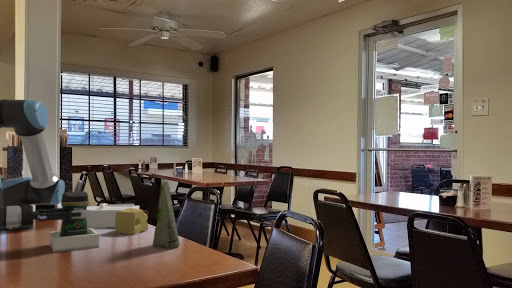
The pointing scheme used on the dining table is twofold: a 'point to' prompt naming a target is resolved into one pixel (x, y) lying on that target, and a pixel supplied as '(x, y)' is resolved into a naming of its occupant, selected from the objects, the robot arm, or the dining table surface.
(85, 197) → the coffee jar
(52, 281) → the dining table surface
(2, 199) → the robot arm
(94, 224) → the tissue box
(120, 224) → the cheese
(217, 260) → the dining table surface
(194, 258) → the dining table surface
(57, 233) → the tray
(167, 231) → the pouch
